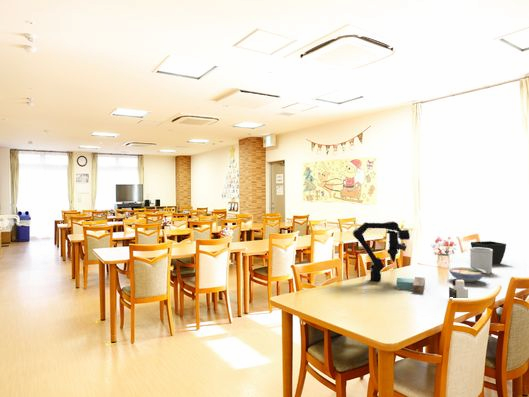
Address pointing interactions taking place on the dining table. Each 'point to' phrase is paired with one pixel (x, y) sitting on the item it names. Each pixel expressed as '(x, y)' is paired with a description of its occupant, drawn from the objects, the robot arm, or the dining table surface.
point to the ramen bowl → (467, 273)
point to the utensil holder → (481, 258)
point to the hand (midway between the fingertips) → (393, 261)
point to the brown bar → (418, 285)
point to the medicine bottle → (458, 289)
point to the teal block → (404, 283)
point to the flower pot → (495, 246)
